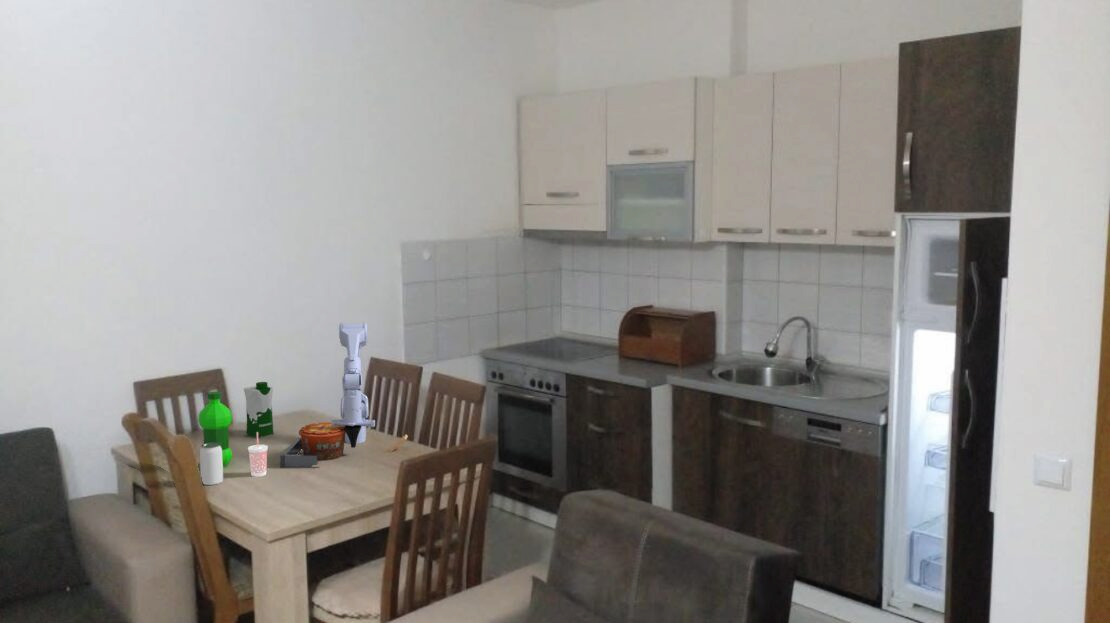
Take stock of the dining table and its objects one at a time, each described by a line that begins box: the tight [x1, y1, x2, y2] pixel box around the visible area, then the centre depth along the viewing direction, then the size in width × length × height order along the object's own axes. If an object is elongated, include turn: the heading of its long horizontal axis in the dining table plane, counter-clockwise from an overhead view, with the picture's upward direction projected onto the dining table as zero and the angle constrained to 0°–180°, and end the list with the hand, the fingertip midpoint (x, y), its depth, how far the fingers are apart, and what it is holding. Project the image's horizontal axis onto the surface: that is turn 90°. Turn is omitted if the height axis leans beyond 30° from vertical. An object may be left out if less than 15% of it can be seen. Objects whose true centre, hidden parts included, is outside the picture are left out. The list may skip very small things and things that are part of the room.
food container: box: [298, 421, 346, 462], centre depth 299 cm, size 16×16×11 cm
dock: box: [279, 437, 319, 469], centre depth 299 cm, size 22×12×4 cm, turn 2°
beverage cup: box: [247, 432, 269, 478], centre depth 281 cm, size 6×6×14 cm
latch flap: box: [387, 434, 409, 452], centre depth 307 cm, size 5×8×1 cm
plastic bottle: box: [198, 390, 233, 469], centre depth 287 cm, size 10×10×25 cm
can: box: [199, 443, 224, 486], centre depth 272 cm, size 6×6×12 cm
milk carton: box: [243, 381, 274, 438], centre depth 327 cm, size 9×9×20 cm
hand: (353, 446), depth 300 cm, fingers closed
